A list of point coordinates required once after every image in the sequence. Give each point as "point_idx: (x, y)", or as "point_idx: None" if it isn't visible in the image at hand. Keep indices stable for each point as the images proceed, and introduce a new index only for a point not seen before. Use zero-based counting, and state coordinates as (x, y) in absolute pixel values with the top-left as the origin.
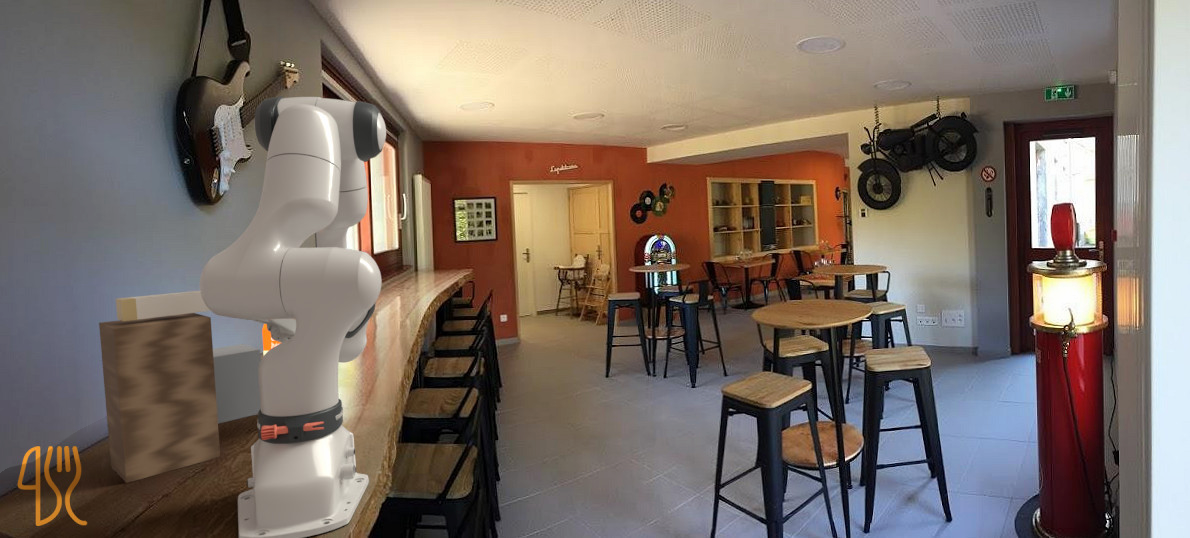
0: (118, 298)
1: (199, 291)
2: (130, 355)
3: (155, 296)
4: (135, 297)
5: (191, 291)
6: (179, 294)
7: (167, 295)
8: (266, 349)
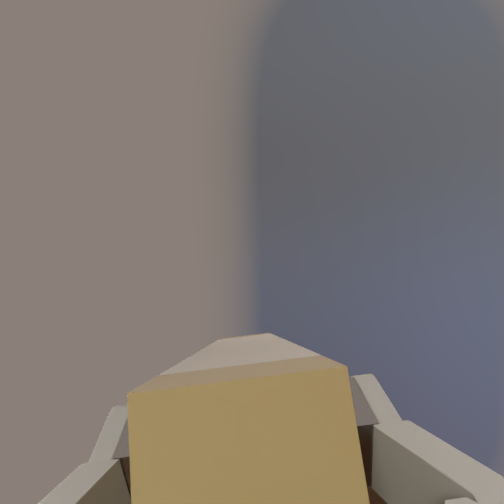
0: (266, 333)
1: (244, 346)
2: None
3: (223, 341)
4: (251, 336)
5: (279, 341)
6: (207, 346)
7: (215, 343)
8: None
